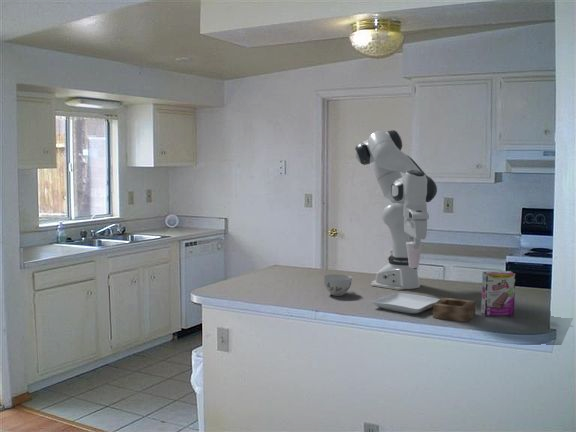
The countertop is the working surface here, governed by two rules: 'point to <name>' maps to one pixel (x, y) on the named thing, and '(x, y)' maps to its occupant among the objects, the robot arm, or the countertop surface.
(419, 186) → the robot arm
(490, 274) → the candy bar box
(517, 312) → the countertop surface
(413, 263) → the smoothie
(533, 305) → the countertop surface
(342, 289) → the teacup
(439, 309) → the walnut holder
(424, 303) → the salad plate
